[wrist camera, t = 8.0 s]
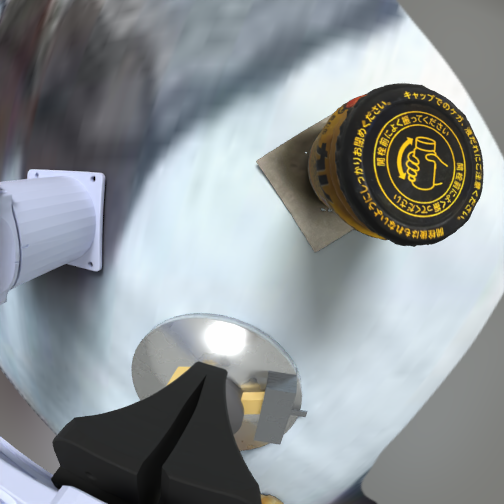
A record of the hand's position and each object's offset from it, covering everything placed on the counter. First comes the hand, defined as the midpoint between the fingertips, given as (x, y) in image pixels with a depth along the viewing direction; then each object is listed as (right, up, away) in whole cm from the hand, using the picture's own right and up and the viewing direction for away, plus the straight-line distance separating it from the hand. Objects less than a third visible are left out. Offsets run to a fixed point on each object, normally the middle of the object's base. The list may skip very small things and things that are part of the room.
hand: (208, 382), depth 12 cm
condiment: (+8, +11, +7) cm, 15 cm away
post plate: (-1, -6, +13) cm, 14 cm away
